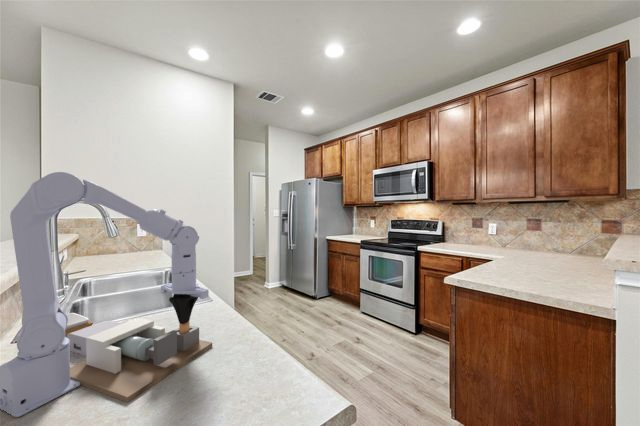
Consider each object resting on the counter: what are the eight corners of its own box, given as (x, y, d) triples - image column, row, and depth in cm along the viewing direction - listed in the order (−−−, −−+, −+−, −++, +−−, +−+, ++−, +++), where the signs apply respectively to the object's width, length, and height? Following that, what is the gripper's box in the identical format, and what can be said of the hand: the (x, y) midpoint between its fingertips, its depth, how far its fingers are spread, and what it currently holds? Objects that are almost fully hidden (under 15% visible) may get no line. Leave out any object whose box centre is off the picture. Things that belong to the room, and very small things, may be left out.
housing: (135, 380, 55) (135, 350, 55) (86, 364, 61) (86, 337, 61) (199, 342, 71) (199, 319, 71) (155, 332, 77) (155, 311, 77)
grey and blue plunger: (157, 371, 58) (157, 340, 58) (107, 356, 63) (107, 328, 63) (177, 359, 62) (176, 330, 62) (128, 346, 68) (128, 320, 68)
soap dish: (93, 335, 78) (93, 318, 78) (47, 350, 69) (47, 331, 69) (74, 326, 84) (74, 310, 83) (30, 340, 75) (29, 322, 75)
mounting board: (127, 402, 50) (127, 397, 50) (59, 377, 58) (59, 372, 58) (212, 346, 71) (212, 342, 71) (153, 333, 78) (153, 329, 78)
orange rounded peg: (184, 341, 68) (184, 325, 68) (177, 339, 69) (177, 324, 69) (191, 336, 70) (191, 321, 70) (184, 335, 71) (184, 320, 71)
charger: (146, 331, 80) (88, 357, 66) (126, 327, 83) (66, 350, 69) (146, 316, 80) (88, 338, 66) (126, 312, 83) (66, 332, 69)
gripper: (216, 269, 70) (217, 320, 71) (176, 265, 76) (176, 313, 76) (196, 275, 64) (196, 331, 64) (153, 271, 69) (153, 322, 69)
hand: (184, 322), depth 69 cm, fingers closed
